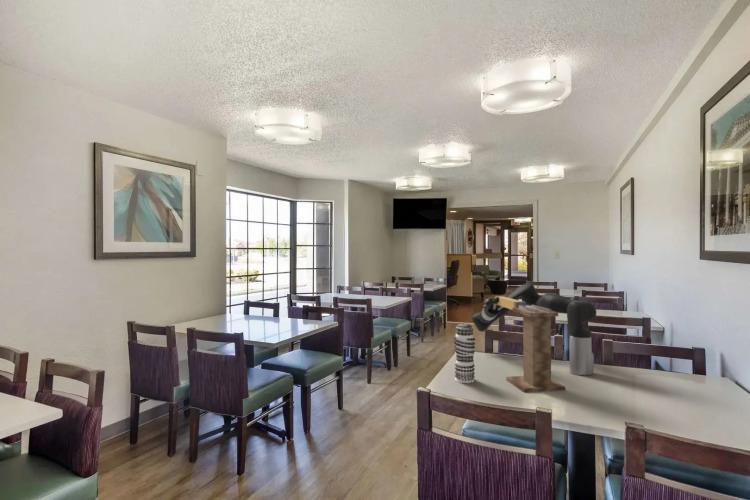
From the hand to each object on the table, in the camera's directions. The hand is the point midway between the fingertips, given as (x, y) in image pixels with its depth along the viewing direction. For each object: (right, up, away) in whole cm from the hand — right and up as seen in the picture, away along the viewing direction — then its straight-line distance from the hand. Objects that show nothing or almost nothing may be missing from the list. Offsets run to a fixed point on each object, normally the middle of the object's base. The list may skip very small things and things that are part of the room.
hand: (502, 298), depth 206 cm
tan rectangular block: (+1, -3, -6) cm, 7 cm away
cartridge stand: (+4, -33, -30) cm, 45 cm away
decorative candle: (-24, -34, -23) cm, 47 cm away
